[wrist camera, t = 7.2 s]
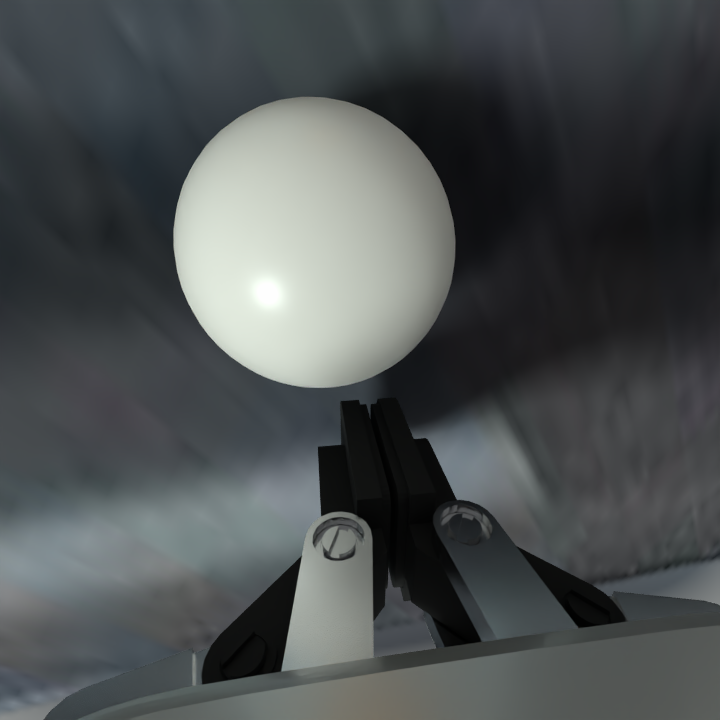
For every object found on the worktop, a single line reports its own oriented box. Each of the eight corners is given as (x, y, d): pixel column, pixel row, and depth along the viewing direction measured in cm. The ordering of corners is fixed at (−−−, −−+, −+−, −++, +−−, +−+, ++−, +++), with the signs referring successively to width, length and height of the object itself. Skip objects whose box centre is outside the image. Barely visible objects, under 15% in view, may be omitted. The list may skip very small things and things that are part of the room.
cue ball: (481, 432, 7) (443, 293, 12) (485, 60, 4) (429, 64, 8) (204, 457, 8) (267, 317, 12) (14, 162, 5) (192, 116, 9)
